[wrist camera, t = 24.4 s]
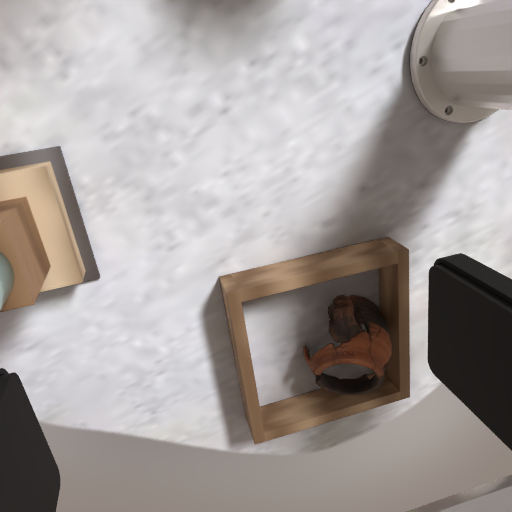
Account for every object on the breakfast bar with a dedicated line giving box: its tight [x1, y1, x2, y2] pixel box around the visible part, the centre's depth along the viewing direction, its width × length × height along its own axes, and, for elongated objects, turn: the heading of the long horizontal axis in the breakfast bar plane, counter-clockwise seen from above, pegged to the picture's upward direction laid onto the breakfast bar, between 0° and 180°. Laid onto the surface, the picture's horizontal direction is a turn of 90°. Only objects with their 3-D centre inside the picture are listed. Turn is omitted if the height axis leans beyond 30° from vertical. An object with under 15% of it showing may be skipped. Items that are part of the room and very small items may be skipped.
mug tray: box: [219, 237, 410, 444], centre depth 48 cm, size 18×18×4 cm
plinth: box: [0, 146, 100, 292], centre depth 37 cm, size 12×12×3 cm
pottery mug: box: [303, 295, 392, 395], centre depth 48 cm, size 12×9×8 cm
